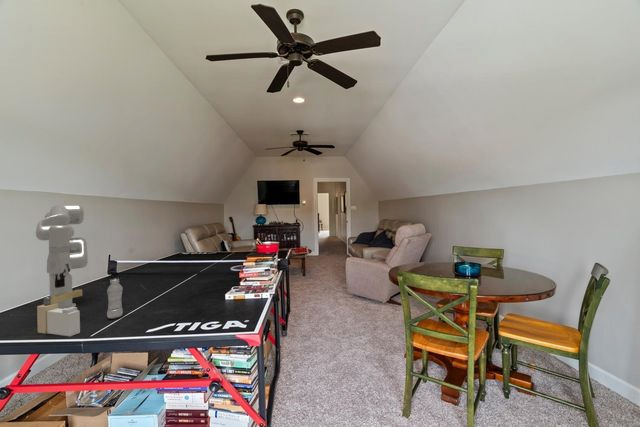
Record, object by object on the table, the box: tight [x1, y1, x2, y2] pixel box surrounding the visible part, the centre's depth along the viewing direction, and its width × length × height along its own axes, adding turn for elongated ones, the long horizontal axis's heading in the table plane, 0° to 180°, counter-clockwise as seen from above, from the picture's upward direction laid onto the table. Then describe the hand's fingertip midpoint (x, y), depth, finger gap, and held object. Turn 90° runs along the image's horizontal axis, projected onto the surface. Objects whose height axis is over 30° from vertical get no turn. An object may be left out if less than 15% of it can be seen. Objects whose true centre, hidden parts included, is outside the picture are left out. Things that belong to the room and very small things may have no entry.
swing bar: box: [43, 289, 84, 305], centre depth 135 cm, size 15×3×3 cm, turn 165°
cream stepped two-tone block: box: [36, 303, 81, 337], centre depth 127 cm, size 20×5×12 cm, turn 75°
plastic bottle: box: [106, 277, 124, 320], centre depth 144 cm, size 6×7×20 cm
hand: (59, 287), depth 139 cm, fingers closed
